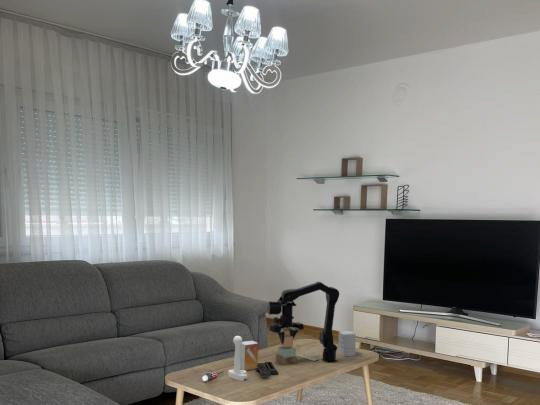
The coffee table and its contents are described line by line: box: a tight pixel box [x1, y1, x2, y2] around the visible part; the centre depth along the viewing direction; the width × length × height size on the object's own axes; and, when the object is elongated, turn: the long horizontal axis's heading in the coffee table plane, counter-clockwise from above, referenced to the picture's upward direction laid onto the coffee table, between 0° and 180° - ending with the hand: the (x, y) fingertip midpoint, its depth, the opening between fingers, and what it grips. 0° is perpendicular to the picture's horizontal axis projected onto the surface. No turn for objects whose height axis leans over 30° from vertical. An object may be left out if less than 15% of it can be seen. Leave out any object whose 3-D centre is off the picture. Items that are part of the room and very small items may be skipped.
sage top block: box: [277, 345, 297, 358], centre depth 266 cm, size 7×7×4 cm
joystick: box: [228, 335, 248, 382], centre depth 240 cm, size 11×8×20 cm
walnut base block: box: [275, 353, 298, 366], centre depth 265 cm, size 8×8×4 cm
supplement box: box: [338, 330, 356, 358], centre depth 283 cm, size 7×7×13 cm
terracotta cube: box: [279, 334, 294, 347], centre depth 266 cm, size 5×5×5 cm
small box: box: [240, 340, 259, 371], centre depth 254 cm, size 8×6×13 cm
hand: (286, 343), depth 266 cm, fingers closed on terracotta cube, 5 cm apart
